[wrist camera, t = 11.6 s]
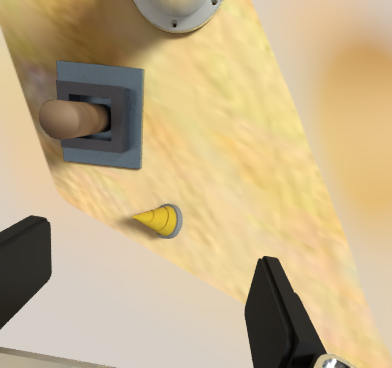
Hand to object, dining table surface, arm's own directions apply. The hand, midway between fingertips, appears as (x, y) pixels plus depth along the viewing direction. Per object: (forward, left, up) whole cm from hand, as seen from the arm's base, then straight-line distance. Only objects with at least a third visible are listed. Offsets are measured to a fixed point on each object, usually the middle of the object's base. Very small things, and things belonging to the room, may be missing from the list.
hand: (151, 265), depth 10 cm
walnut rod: (-4, -14, -26) cm, 29 cm away
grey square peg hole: (-4, -14, -26) cm, 30 cm away
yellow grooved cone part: (+10, -4, -27) cm, 29 cm away
